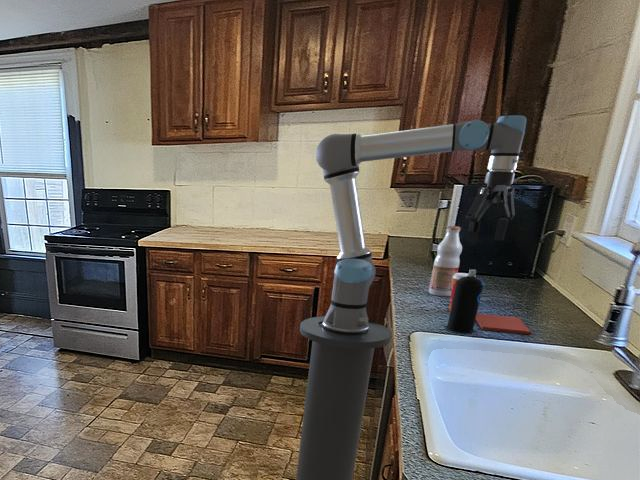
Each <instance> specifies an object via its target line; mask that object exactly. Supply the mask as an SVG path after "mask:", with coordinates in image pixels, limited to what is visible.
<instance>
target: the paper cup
mask: <svg viewBox="0 0 640 480" xmlns="http://www.w3.org/2000/svg"><path fill="white" fill-rule="evenodd" d="M468 274H469V272H468V273H466V272H458V273H455V274H454V276H453V284H452V291H451V296H450V297H449V298H450V299H449V304H448V305H449V306H448V312H450V311H451V306H452V301H453V297H454V292H455V287H456V281H458V280H459V279H460V278H462V277H467V276H468ZM475 277H476V278H477V276H476V275H475Z"/></svg>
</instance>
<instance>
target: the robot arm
mask: <svg viewBox="0 0 640 480" xmlns="http://www.w3.org/2000/svg"><path fill="white" fill-rule="evenodd" d="M527 122H528V121H527V117H526V116H525V115H501V116H499V117H498V119H497V121H496V122H495V123H494V122H493V123H487V122H484V120H480V119H473V120H469V121H465V122H457V123H449V124H443V125H435V126H428V127H419V128H412V129H405V130H398V131H390V132H382V133H375V134H368V135H367V134H366V135H362V134H360V133H358V132H355V133H346V134H345V133H332V134H329V135H326V136H325V137H324V138H323V139H321V141H320V142H319V143H318V145H317V146H316V150H315V160H316V163H317V164H318V166H319V167H320V168H321V169H322V174H323V181H324V182H326V183H327V184H328V185H329V189H330V194H331V195H330V196H331V202H332V207H333V214H334V220H335V227H336V234H337V238H338V246H339V254H338V255H337V257H336V261H337V263H336V264H335V268H334V270H333V271H334V272H333V273H334V274H333V275H334V277H333V284H332V291H331V300H330V305H329V308H328V310H327V312H326V314H325V315H324V316H325V318H324V320H323V321H321V322H319V324H322V323H323V328H324V329H326V330H328V331H330V332H334V333H338V334H346V335H360V334H365V333H367V332H368V329H369V323H368V321H369V317H368V313H367V305H368V298H369V292H370V287H371V285H372V284H373V282H374V281H375V278H376V274H377V271H376V266H375V264H374V262H373V256H372V251H371V250H370V249H369V248H367V246H366V239H365V234H364V225H363V220H362V213H361V206H360V198H359V192H358V186H357V176H358V175H359V173H360V164H361V163H363V162H372V161H380V160H390V159H399V158H406V157H415V156H425V155H433V154H441V153H450V152H461V151H490V156H489V158H488V163H487V168H486V169H487V170H488V171H487V172H486V173H485V177H484V185H487V186H486V187H479V188H478V191H477V195H476V197H475V199H474V201H473V203H472V205H471V207H470V208H469V210H468V212H467V214H466V216H465V219H466V220H467V221H469V226H468V233H467V236H466V237H467V238H466V241H465V242H466V243H471V244H476V243H477V240H478V236H479V231H480V226H481V221H480V220H481V218H482V217H483V216H484V214H485V213H486V212H487V210H488V209H489V207H490V206H491V205H493V204H496V207H497V211H498V214H499V218H498V219H497V224H496V228H495V233H494V238H493V240H494V241H502V242H503V241H504V240H505V236H506V231H507V227H508V223H509V221H512V220H513V218H514V217H515V200H514V193H515V187H511V185H513V183H514V179H515V175H516V174H515V170H516V169H517V167H518V165H517V164H518V162H519V156H520V153H521V149H522V145H523V142H524V137H525V134H526V126H527Z"/></svg>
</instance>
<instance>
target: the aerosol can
mask: <svg viewBox="0 0 640 480" xmlns="http://www.w3.org/2000/svg"><path fill="white" fill-rule="evenodd" d="M476 275H477V270H476V269H469V271H468V276H467V277H462V278H460V279H459V280H458V281H456V287H455V292H454V297H453V301H452V306H451V311H449V316H448V321H447V325H445V328H446V329H447V330H449V331H450V332H456V333H460V334H472V333H473V332H474V331H475V329H474V328H475V323H476V321H477V320H476V315H477V314H478V311H479V306H480V303H481V298H482V294H483V289H484V287H485V284H486V283H484V282H483V280H482V279H480V278H479V277H477V276H476ZM475 276H476V277H475Z"/></svg>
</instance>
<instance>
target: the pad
mask: <svg viewBox="0 0 640 480" xmlns="http://www.w3.org/2000/svg"><path fill="white" fill-rule="evenodd" d="M475 321H476V322H477V324H478V325H479V327H480V329H481V330H484V331H493V332H503V333H512V334H520V335H530V336H531V334H532V330H531V329H530V328H529V327H528V326H527V325H526V324H525V323H524V322H523V321H522V320H521V317H517V316H505V315H498V314H497V315H496V314H487V313H477V315H476V320H475Z"/></svg>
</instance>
